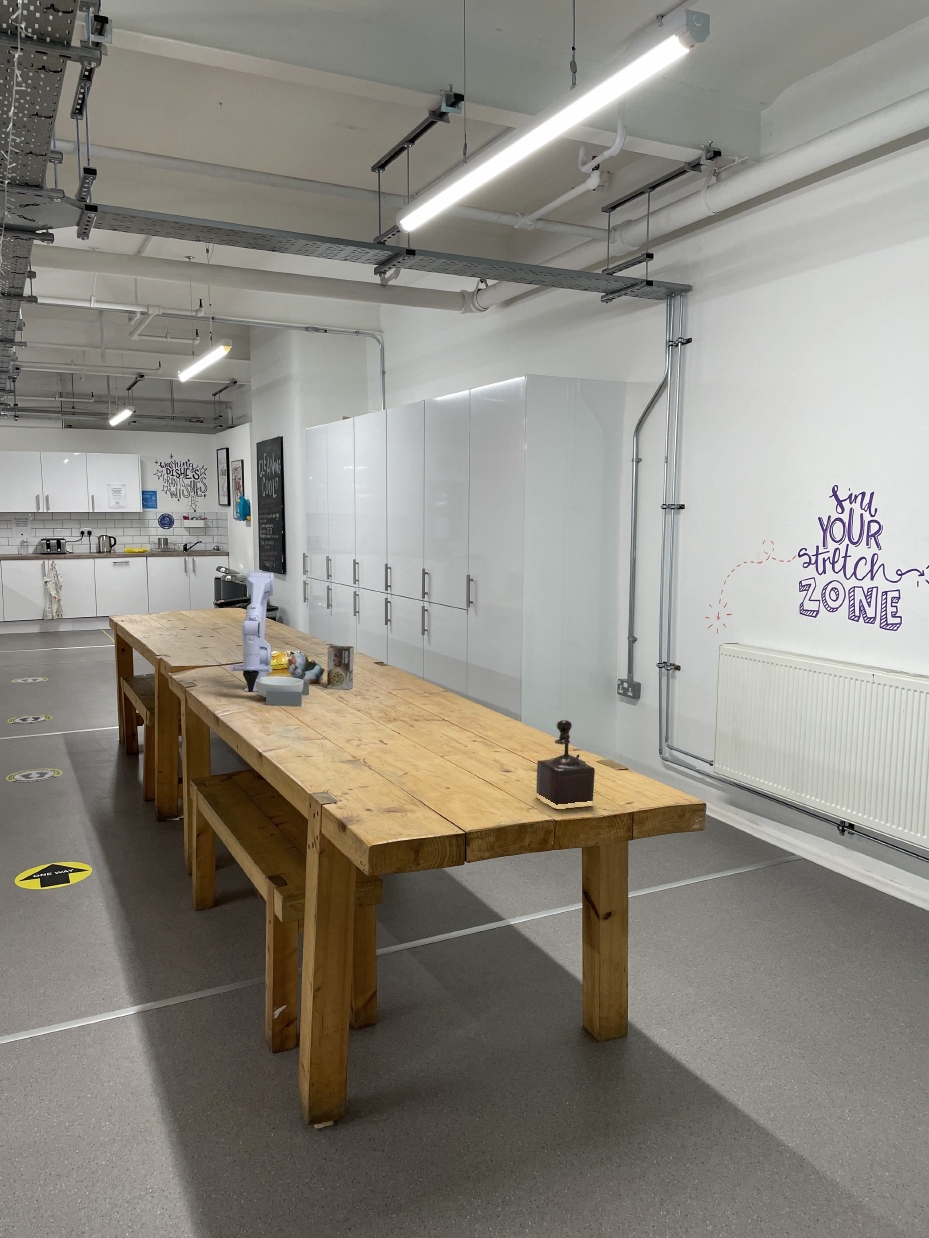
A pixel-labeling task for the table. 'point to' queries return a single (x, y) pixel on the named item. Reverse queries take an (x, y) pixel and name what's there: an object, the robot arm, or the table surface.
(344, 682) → the coffee box
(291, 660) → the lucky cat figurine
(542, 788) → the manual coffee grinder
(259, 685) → the cereal bowl
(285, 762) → the table surface
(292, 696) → the gray parallel panels
